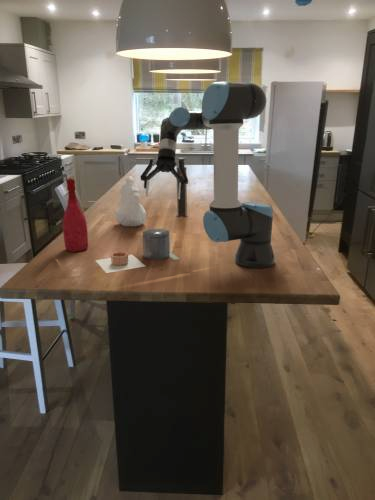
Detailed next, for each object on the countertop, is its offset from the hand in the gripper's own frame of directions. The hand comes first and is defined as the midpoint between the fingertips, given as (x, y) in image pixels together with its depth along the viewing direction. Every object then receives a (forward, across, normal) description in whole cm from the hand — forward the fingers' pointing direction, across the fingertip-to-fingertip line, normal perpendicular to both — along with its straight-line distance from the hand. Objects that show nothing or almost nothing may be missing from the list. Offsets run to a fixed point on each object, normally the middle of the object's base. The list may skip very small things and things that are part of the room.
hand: (162, 196), depth 170 cm
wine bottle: (+22, +35, -11) cm, 43 cm away
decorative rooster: (0, +17, -40) cm, 44 cm away
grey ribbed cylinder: (+26, 0, -1) cm, 26 cm away
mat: (+26, 0, -1) cm, 26 cm away
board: (+33, +13, +6) cm, 36 cm away
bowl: (+32, +13, +7) cm, 35 cm away
